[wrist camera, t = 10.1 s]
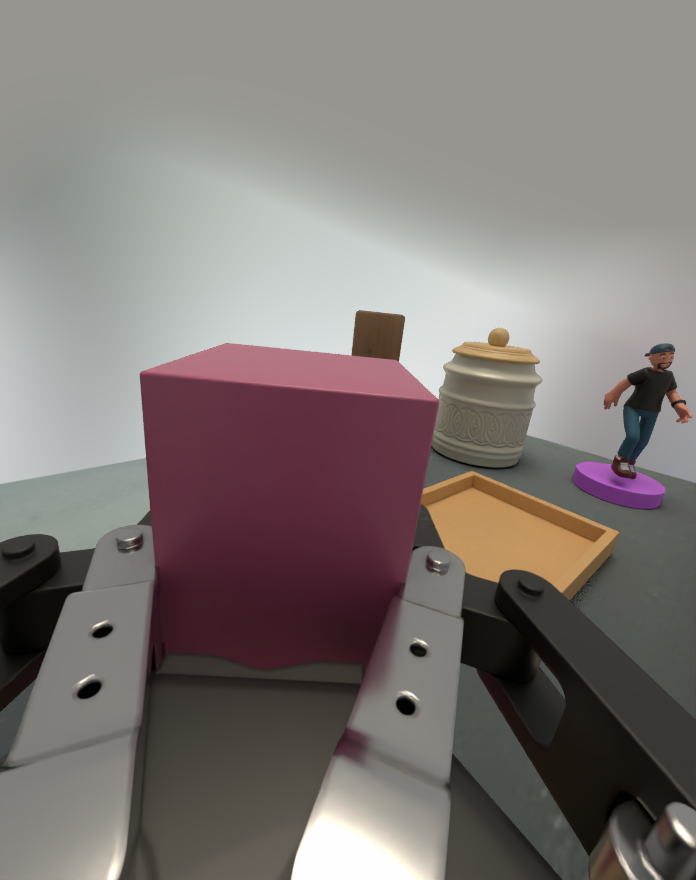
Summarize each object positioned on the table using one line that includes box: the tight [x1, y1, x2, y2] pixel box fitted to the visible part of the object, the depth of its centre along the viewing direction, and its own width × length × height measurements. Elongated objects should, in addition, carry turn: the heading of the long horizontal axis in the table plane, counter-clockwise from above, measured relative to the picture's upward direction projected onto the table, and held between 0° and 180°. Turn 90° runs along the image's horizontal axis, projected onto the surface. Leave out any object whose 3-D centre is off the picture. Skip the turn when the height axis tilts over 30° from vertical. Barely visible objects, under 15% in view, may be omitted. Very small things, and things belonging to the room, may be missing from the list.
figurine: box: [572, 344, 692, 509], centre depth 45 cm, size 9×9×18 cm
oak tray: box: [421, 471, 619, 601], centre depth 33 cm, size 18×15×2 cm
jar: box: [432, 328, 542, 467], centre depth 54 cm, size 13×13×18 cm
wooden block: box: [352, 310, 405, 362], centre depth 48 cm, size 9×4×18 cm, turn 133°
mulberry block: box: [140, 343, 439, 673], centre depth 10 cm, size 5×5×11 cm
